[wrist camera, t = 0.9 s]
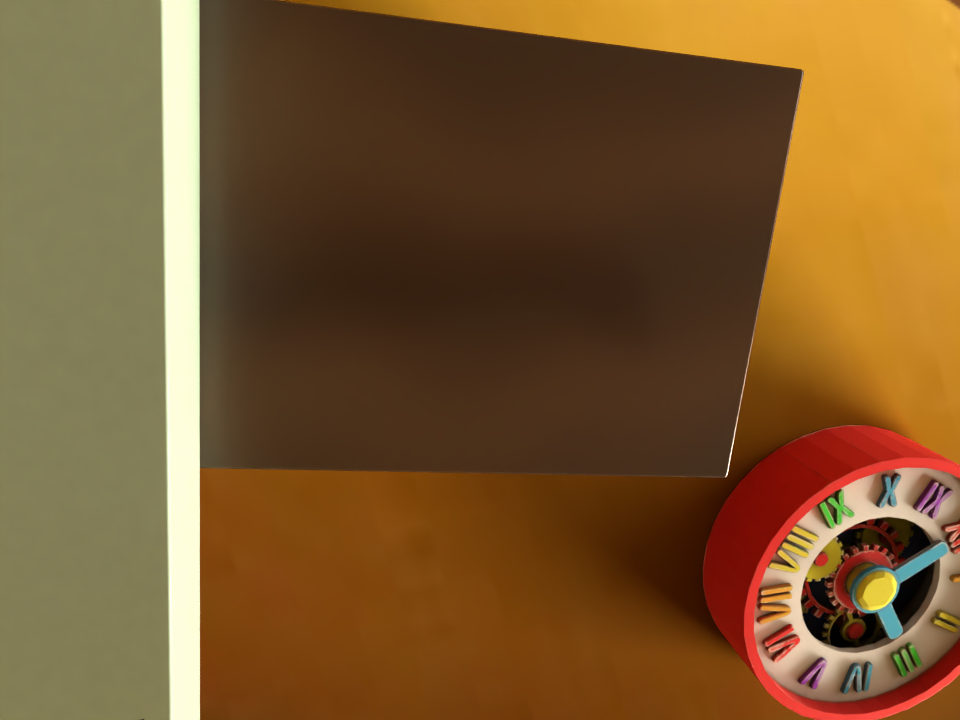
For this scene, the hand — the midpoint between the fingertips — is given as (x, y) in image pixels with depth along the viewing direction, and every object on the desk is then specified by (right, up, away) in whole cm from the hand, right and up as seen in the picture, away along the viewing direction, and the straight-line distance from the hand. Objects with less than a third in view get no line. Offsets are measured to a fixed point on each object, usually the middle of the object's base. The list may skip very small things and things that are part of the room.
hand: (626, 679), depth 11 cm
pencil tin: (-10, +4, +6) cm, 12 cm away
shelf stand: (-10, +14, +32) cm, 37 cm away
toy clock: (+24, -10, +45) cm, 52 cm away
